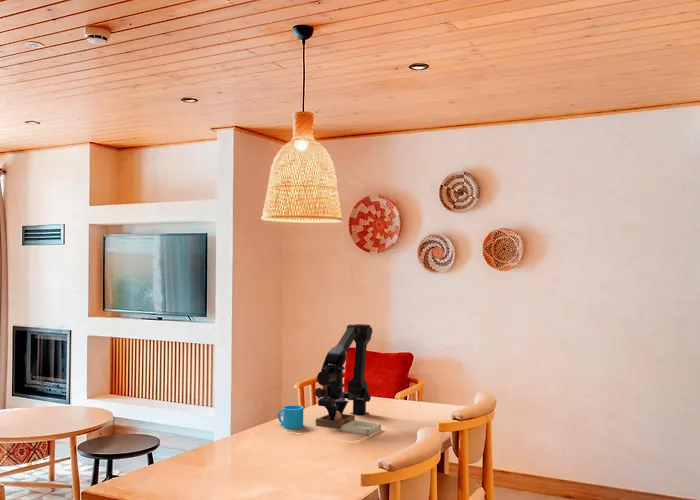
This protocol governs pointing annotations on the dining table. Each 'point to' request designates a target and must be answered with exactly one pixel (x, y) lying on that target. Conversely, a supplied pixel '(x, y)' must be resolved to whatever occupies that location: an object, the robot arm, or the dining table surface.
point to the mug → (291, 417)
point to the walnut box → (334, 424)
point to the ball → (337, 416)
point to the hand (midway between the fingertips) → (335, 420)
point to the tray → (361, 427)
